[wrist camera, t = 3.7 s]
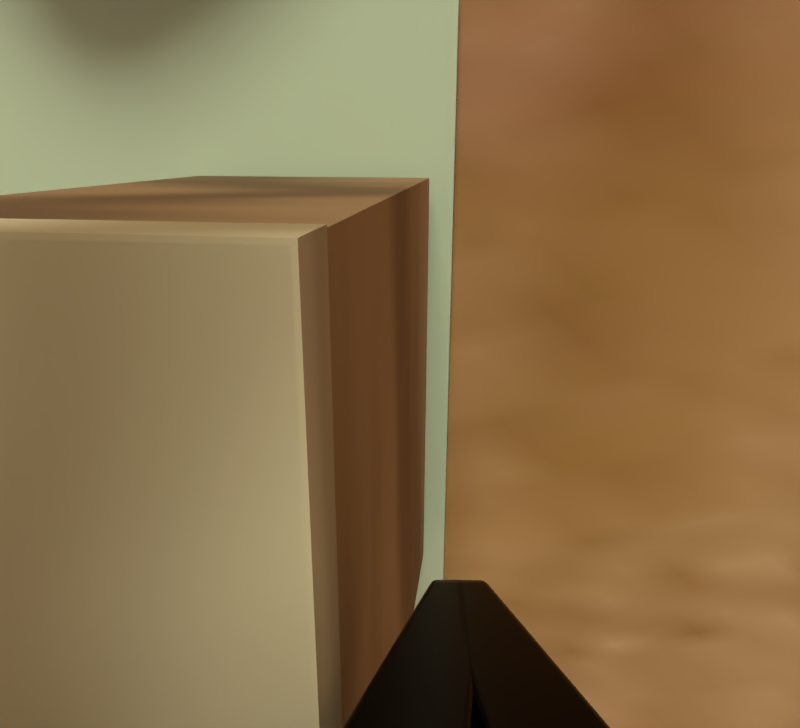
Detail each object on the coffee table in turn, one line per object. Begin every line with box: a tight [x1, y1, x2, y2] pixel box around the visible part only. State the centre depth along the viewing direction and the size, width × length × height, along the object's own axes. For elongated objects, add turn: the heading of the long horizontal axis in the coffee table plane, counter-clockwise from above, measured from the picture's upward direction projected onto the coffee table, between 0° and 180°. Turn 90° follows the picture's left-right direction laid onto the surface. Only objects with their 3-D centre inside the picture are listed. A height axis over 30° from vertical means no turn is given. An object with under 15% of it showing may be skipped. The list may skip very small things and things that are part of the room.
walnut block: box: [0, 176, 429, 728], centre depth 11 cm, size 5×9×10 cm, turn 179°
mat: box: [0, 0, 459, 610], centre depth 16 cm, size 18×16×1 cm
